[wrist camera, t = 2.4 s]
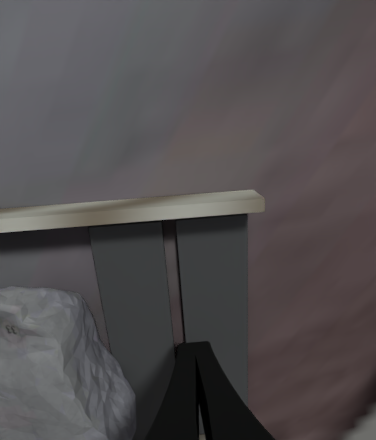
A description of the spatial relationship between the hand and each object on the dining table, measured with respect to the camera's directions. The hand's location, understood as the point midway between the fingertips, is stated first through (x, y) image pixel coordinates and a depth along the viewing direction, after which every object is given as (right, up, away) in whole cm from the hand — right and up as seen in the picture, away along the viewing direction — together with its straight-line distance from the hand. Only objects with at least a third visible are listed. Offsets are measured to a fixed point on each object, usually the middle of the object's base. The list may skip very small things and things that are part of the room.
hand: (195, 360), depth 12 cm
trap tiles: (-1, 0, +1) cm, 2 cm away
